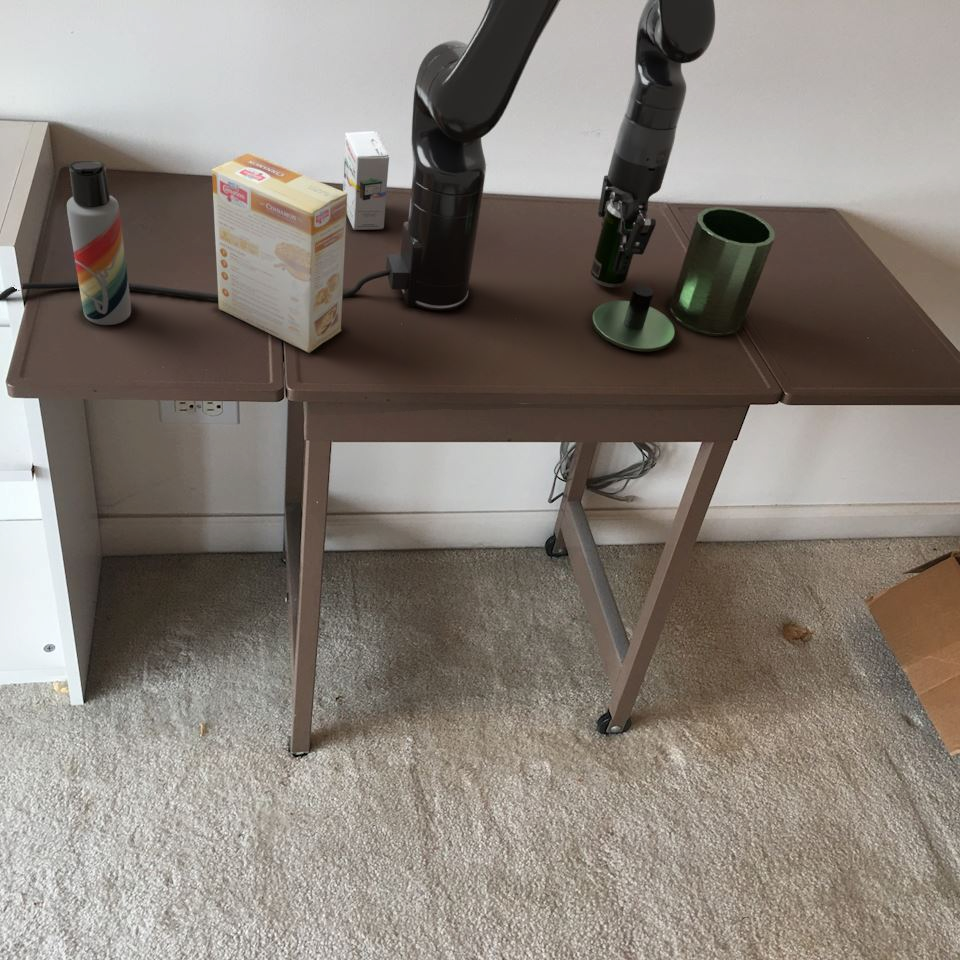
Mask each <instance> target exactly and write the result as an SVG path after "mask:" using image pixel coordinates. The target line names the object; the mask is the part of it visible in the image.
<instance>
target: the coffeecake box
mask: <svg viewBox="0 0 960 960" xmlns="http://www.w3.org/2000/svg"><path fill="white" fill-rule="evenodd" d="M211 177H212V196H213V197H212V198H213V199H212V201H213V219H214V234H215V235H214V239H215V240H214V241H215V257H216V258H215V259H216V273H217V274H216V276H217V277H216V278H217V279H216V280H217V281H216V282H217V295H218V300H217V301H218V309H219V310H220V311H223V312H225V313H226V314H228V315H231V316H233V317H234V318H237V319H239V320H241V321H243V322H244V323H247V324H249V325H251V326H253V327H255V328H257V329H259V330H261V331H263V332H265V333H268V334H270V335H272V336H273V337H275V338H278V339H279V340H282V341H284V342H286V343H288V344H289V345H291V346H294V347H296V348H298V349H300V350H302V351H304V352H306V353H308V354H310V353H312V352H313V351H314V350H316V349H317V348H318V347H319V346H321V345H322V344H323V343H325V342H327V341H329V340H330V339H332V338H333V337H335V336H336V335H338V334H339V333H340V332H341V331H342V313H343V298H342V295H343V292H344V289H343V288H344V272H345V271H344V270H345V251H346V250H345V249H346V233H347V231H346V230H347V228H346V227H347V213H346V210H347V193H345V192H343V190H341V189H338V188H336V187H334V186H331V185H328V184H327V183H323V182H322V181H319V180H317V179H314V178H311V177H310V176H307V175H304V174H302V173H300V172H297V171H294V170H293V169H290V168H287V167H285V166H282V165H280V164H278V163H276V162H274V161H271V160H268V159H266V158H264V157H262V156H258V155H257V154H254V153H252V152H247V153H245V154H242V155H240V156H238V157H236V158H234V159H232V160H230V161H228V162H225V163H222V164H220V165H218V166H216V167H214V168H212V169H211Z"/></svg>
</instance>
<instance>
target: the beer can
mask: <svg viewBox="0 0 960 960" xmlns="http://www.w3.org/2000/svg"><path fill="white" fill-rule="evenodd" d="M607 204H608V203H607ZM617 205H618V201H614V203H612V199H611V201H610V203H609V204H608V206H607V205H606V206H607V210H606V214H605V218H604V221H603V225H602V224H601V230H600V234H599V237H598V240H597V245H596V248H595V252H594V256H593V260H592V264H591V268H590V275H591V278H592V281H594V282H595V283H596V284H597V285H600V286H603V287H606V288H618V287H620V286H622V285H623V284H624V283H625V282H626V280H627V278H628V274H629V270H630V269H629V270H628V272H627V273H626V274H615V273H614V272H613V270H612V269H613V265H614V262H615V258H616V254H617V251H618V249H619V240H620V234H618V233H617V229H618V225H619V222H620V213H619V212H618V211H619V209H618V208H617ZM625 215H626V214H625ZM624 227H625V229H633V227H634V226H633V223H627V222H626V219H625V226H624ZM629 237H630V235H627V237H626V243H627V242H628V239H629ZM633 257H634V255H633V256H632V258H633ZM631 263H632V262H631ZM631 263H630V266H629V268H630V267H631Z"/></svg>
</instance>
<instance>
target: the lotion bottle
mask: <svg viewBox="0 0 960 960" xmlns="http://www.w3.org/2000/svg"><path fill="white" fill-rule="evenodd" d="M68 167H69V168H68V169H69V175H70V177H69V178H70V184H71V192H72V196H71V197H70V198H69V199H68V200H67V202H66V212H67V218H68V225H69V226H68V227H69V231H70V237H71V244H72V250H73V255H74V264H75V269H76V275H77V281H78V282H79V287H78V288H79V293H80V300H81V306H82V310H83V314H84V317H85V318H86V319H87V320H88V321H89V322H91V323H93V324H96V325H99V326H111V325H112V326H113V325H117V324H121V323H123V322H125V321H126V320H127V319H129V317H130V316H131V313H132V302H131V294H130V289H129V285H128V283H129V277H128V276H129V275H128V270H127V269H128V268H127V262H126V261H127V260H126V253H125V245H124V237H123V229H122V220H121V212H120V206H119V205H120V204H119V202H118V200H117V198H115V197H114V196H112V195H110V189H109V183H108V176H107V168H106V164H105V163H104V162H102V161H98V160H97V161H96V160H79V161H78V160H77V161H73V162H71V163H69V164H68Z"/></svg>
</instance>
